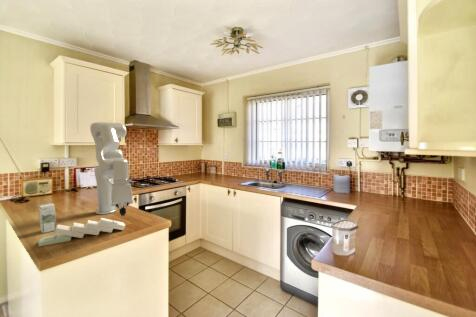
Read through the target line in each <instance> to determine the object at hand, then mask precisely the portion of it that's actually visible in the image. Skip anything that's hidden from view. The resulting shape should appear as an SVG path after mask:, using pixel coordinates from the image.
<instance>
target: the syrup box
mask: <svg viewBox="0 0 476 317" xmlns="http://www.w3.org/2000/svg"><path fill="white" fill-rule="evenodd" d="M38 215H39V216H38V217H39V228H40V230H39V231H40V232H41V233H42V234H47V233H51V232H55V229H56V227H57V225H56V224H57V219H56V207H55V204H54V203H52V202H49V203H43V204H39V205H38Z"/></svg>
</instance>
